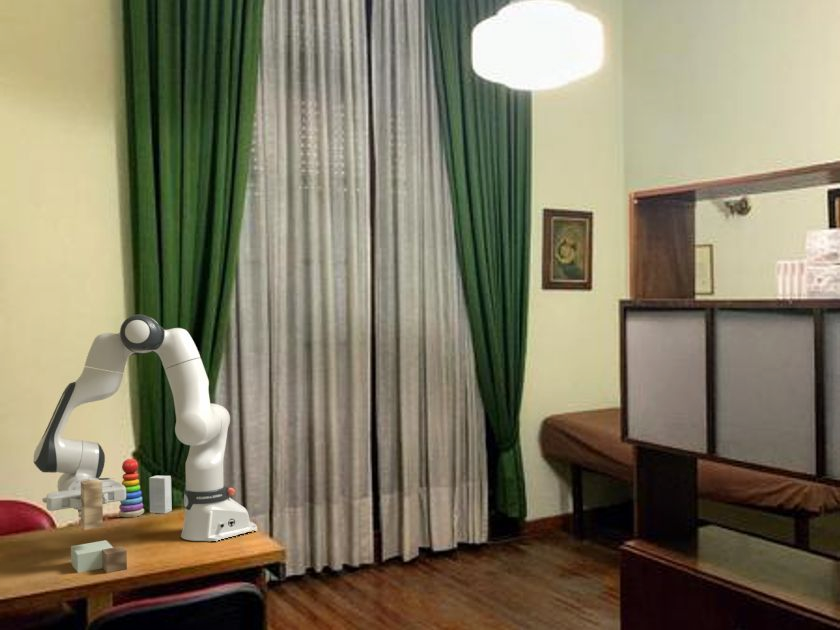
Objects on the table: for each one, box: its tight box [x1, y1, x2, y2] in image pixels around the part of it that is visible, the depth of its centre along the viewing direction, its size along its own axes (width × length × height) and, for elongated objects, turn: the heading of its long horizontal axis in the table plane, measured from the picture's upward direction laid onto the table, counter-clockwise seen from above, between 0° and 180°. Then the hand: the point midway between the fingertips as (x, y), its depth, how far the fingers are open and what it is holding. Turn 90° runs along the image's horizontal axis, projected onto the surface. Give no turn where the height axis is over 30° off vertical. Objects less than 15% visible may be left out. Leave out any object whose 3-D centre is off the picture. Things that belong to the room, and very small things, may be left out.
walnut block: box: [101, 545, 128, 574], centre depth 203 cm, size 5×5×5 cm
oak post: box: [80, 479, 104, 531], centre depth 206 cm, size 4×4×12 cm
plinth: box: [70, 539, 114, 573], centre depth 206 cm, size 9×9×5 cm
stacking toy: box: [118, 458, 145, 518], centre depth 258 cm, size 8×8×19 cm
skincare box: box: [148, 475, 173, 515], centre depth 261 cm, size 6×4×12 cm
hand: (92, 502), depth 206 cm, fingers closed on oak post, 4 cm apart
